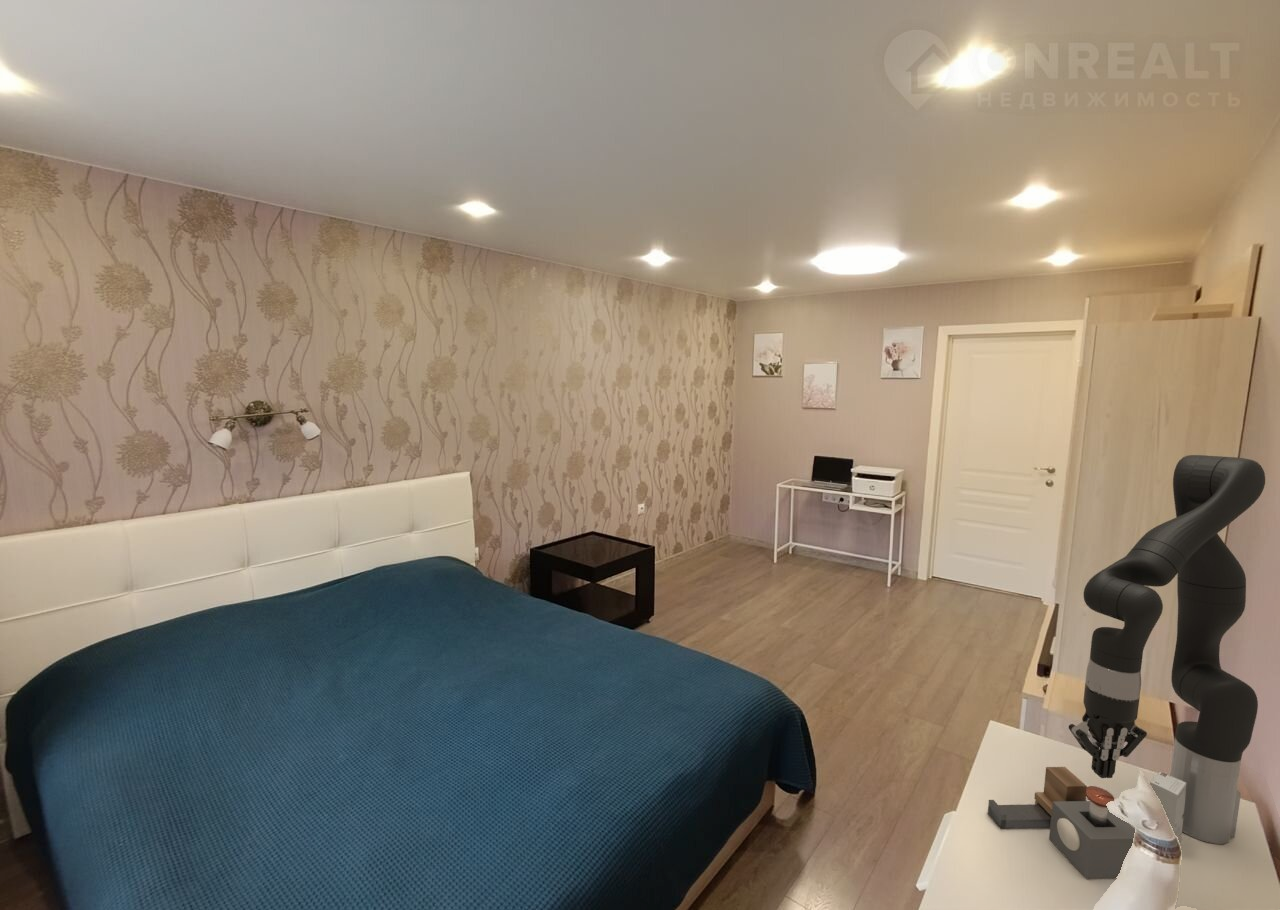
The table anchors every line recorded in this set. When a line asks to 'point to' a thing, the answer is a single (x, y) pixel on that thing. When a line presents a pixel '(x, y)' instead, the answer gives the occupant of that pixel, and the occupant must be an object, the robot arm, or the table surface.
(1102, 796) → the plunger
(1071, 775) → the stepped wooden block
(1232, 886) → the table surface
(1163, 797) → the skincare box
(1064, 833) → the cabinet
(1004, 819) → the rail
